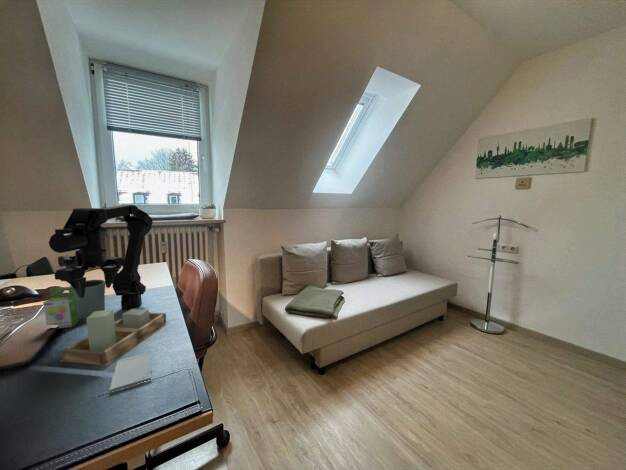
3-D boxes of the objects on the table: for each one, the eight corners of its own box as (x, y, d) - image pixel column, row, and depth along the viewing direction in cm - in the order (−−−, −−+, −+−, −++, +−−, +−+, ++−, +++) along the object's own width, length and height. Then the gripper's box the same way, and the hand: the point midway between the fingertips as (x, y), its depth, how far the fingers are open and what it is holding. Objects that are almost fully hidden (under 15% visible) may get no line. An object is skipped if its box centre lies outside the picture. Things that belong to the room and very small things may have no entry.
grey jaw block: (133, 325, 86) (132, 308, 85) (150, 326, 86) (148, 309, 85) (124, 331, 82) (122, 313, 81) (140, 332, 82) (139, 315, 81)
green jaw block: (98, 346, 73) (94, 311, 72) (116, 344, 75) (113, 309, 73) (90, 355, 69) (86, 318, 68) (110, 352, 71) (106, 316, 69)
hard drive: (151, 377, 61) (151, 351, 72) (108, 390, 57) (115, 360, 67) (151, 383, 62) (151, 356, 72) (109, 396, 57) (116, 365, 68)
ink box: (46, 330, 84) (41, 292, 82) (54, 324, 88) (50, 287, 86) (71, 327, 86) (67, 290, 84) (78, 322, 90) (74, 286, 88)
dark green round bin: (78, 310, 99) (75, 281, 97) (111, 306, 103) (108, 278, 102) (68, 321, 90) (64, 289, 88) (104, 316, 94) (101, 285, 93)
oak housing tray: (132, 321, 91) (131, 311, 90) (168, 324, 89) (168, 313, 89) (60, 364, 67) (58, 350, 66) (107, 368, 66) (106, 354, 65)
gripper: (95, 241, 91) (100, 282, 94) (34, 251, 73) (41, 302, 75) (123, 242, 90) (127, 283, 92) (68, 252, 72) (74, 304, 74)
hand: (95, 292), depth 84 cm, fingers open, 9 cm apart
